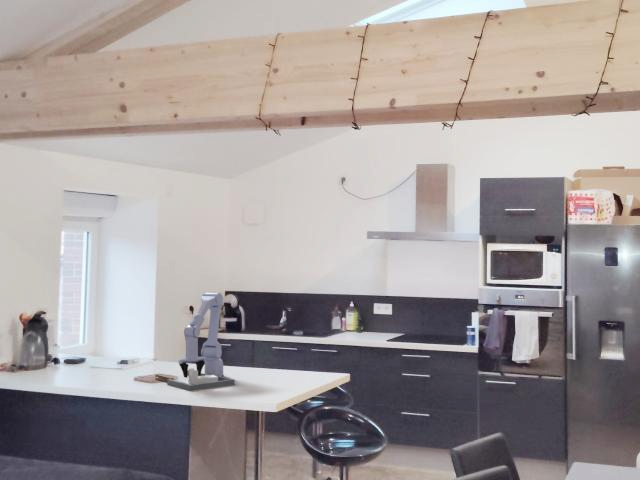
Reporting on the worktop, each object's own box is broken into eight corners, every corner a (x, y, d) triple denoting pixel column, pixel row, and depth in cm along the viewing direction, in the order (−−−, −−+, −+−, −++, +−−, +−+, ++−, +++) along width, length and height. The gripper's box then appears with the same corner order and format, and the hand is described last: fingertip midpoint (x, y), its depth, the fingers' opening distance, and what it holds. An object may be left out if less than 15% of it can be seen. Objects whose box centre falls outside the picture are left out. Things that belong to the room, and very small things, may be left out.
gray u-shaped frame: (210, 378, 396) (210, 373, 396) (234, 384, 378) (234, 379, 378) (167, 384, 379) (167, 379, 379) (190, 390, 362) (190, 385, 362)
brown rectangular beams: (189, 374, 407) (189, 370, 407) (205, 378, 395) (205, 374, 395) (155, 379, 394) (155, 374, 394) (170, 383, 382) (170, 378, 382)
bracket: (192, 386, 376) (192, 370, 376) (188, 383, 382) (188, 368, 382) (218, 384, 382) (218, 368, 382) (213, 381, 388) (213, 366, 388)
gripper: (200, 347, 393) (200, 373, 393) (175, 350, 384) (175, 377, 384) (207, 348, 388) (207, 375, 388) (182, 351, 379) (182, 378, 378)
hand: (192, 376), depth 386 cm, fingers open, 7 cm apart
